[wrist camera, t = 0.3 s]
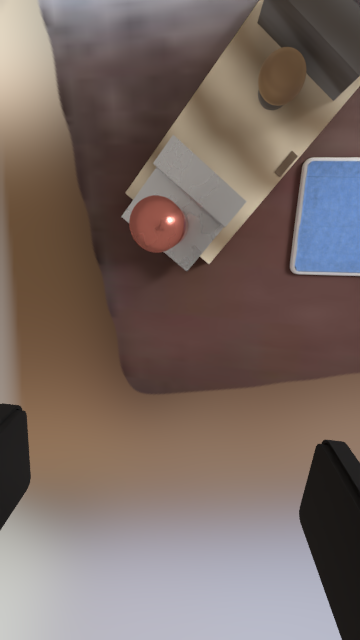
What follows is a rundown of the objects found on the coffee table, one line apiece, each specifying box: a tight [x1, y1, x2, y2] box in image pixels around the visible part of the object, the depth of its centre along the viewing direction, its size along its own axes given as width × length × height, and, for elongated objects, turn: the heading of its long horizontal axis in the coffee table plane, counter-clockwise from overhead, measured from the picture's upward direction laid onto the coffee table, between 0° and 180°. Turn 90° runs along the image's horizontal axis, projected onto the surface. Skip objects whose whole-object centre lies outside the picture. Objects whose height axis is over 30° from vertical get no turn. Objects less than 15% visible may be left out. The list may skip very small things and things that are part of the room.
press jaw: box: [121, 135, 247, 271], centre depth 27 cm, size 9×9×12 cm
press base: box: [126, 0, 360, 264], centre depth 29 cm, size 23×12×7 cm, turn 141°
